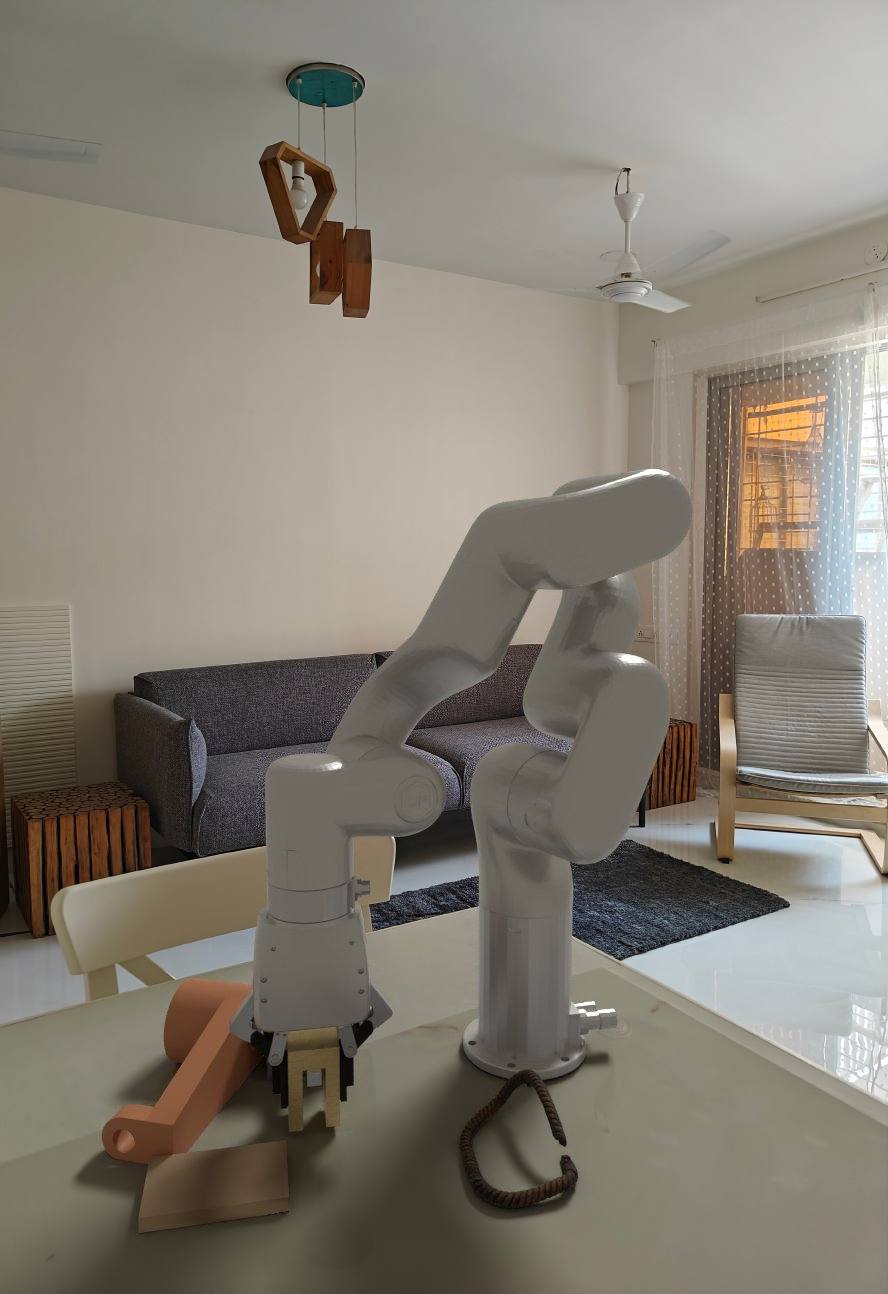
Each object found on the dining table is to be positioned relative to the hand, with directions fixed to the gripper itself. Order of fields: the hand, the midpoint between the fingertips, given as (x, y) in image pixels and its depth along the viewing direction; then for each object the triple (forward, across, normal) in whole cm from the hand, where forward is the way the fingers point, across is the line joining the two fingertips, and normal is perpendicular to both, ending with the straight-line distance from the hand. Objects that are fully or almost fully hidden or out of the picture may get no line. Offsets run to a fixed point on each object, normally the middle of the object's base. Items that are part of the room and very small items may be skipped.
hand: (313, 1094), depth 79 cm
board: (+3, +8, +8) cm, 11 cm away
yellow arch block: (+3, 0, 0) cm, 3 cm away
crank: (+3, +11, -7) cm, 13 cm away
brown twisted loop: (+3, -16, +8) cm, 19 cm away
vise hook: (+3, 0, -6) cm, 6 cm away
